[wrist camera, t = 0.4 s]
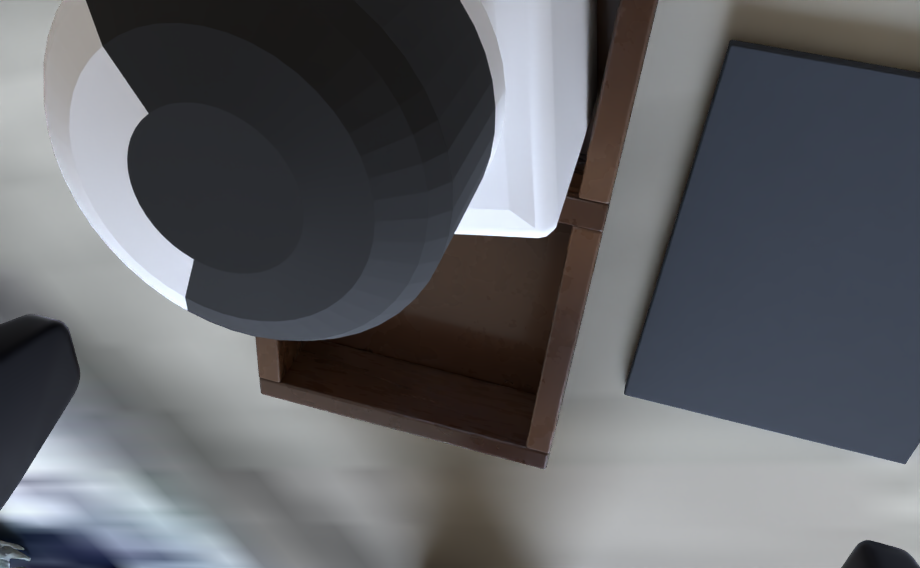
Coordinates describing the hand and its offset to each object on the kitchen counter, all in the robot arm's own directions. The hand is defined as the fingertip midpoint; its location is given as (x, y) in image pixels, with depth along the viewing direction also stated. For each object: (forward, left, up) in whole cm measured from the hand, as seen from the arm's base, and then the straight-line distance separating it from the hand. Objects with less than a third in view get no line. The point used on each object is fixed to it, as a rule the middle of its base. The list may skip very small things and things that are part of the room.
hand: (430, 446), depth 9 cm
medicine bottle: (+1, +4, -14) cm, 15 cm away
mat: (-5, -8, -14) cm, 17 cm away
